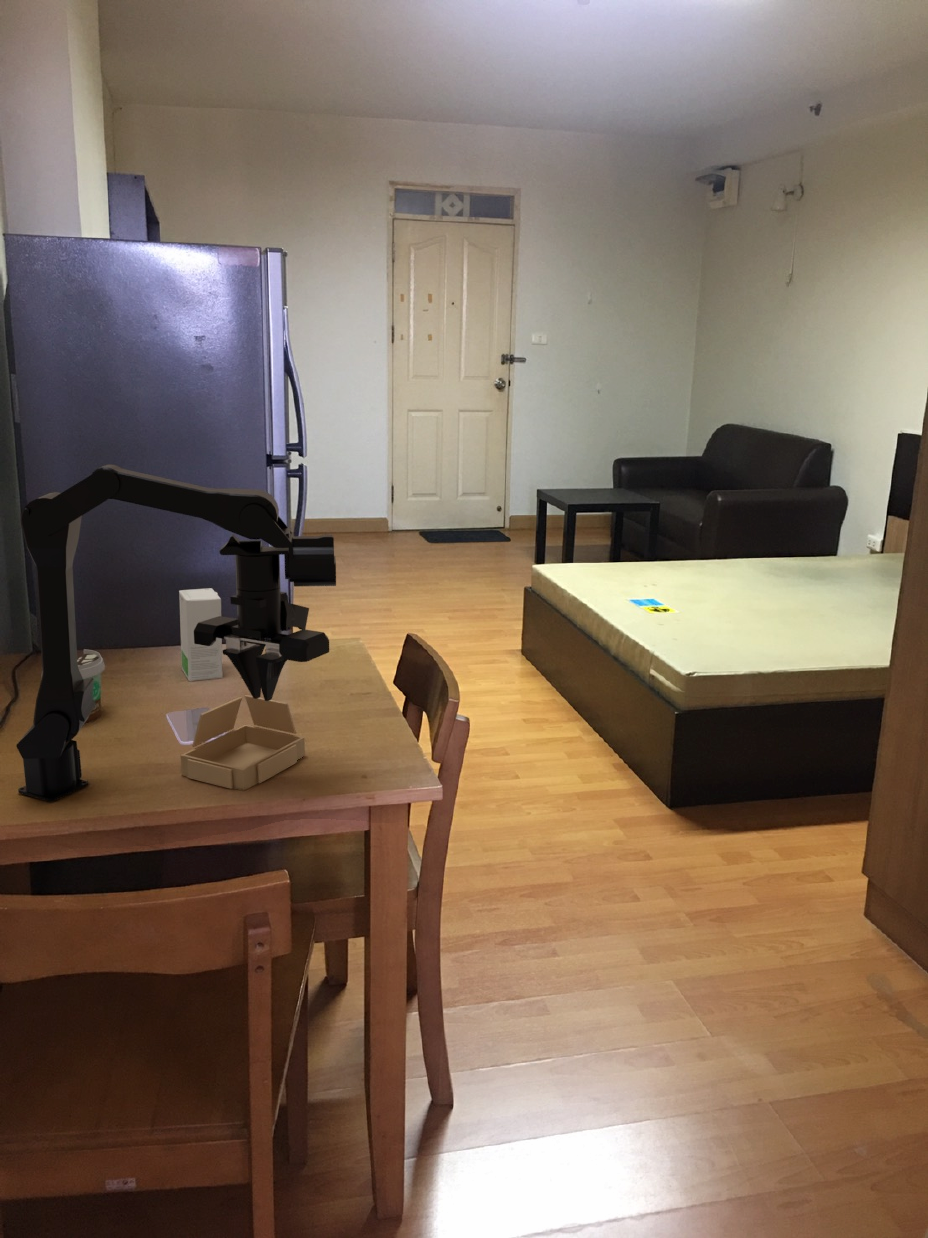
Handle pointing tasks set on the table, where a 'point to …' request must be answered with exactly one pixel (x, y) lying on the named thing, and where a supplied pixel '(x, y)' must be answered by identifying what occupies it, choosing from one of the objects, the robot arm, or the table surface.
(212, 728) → the left flap
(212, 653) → the skincare box
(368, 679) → the table surface
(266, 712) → the front flap
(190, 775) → the carton
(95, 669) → the food container
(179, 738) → the mobile phone
